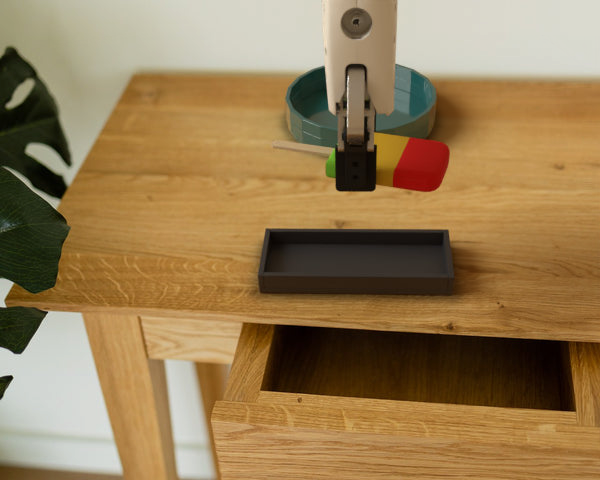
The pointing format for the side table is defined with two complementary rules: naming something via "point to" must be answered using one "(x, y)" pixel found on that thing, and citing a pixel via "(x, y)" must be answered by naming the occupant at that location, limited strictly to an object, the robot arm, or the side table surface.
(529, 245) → the side table surface
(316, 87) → the bowl
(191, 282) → the side table surface
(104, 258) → the side table surface
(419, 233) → the tray
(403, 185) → the popsicle
